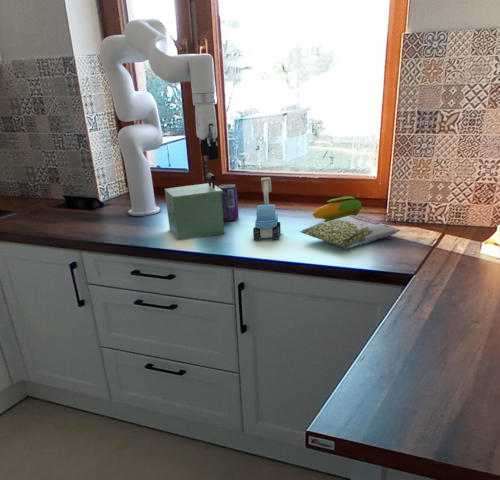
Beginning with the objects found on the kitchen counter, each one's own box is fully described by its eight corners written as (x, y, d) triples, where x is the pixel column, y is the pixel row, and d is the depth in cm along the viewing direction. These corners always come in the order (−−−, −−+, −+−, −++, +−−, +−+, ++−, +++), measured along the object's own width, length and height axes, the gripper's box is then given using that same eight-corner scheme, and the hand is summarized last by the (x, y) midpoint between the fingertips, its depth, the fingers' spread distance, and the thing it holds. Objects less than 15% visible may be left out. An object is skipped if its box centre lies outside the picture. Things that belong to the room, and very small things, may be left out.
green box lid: (211, 185, 206) (210, 170, 203) (222, 192, 194) (221, 177, 191) (164, 191, 202) (162, 175, 199) (173, 199, 190) (171, 183, 187)
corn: (367, 194, 204) (318, 203, 197) (366, 217, 208) (319, 226, 201) (354, 192, 210) (307, 201, 203) (354, 214, 214) (308, 223, 207)
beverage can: (241, 217, 218) (239, 183, 212) (234, 222, 213) (232, 188, 206) (223, 216, 220) (221, 183, 214) (216, 221, 215) (213, 187, 208)
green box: (213, 224, 213) (210, 185, 206) (224, 233, 201) (221, 193, 194) (169, 230, 209) (164, 191, 202) (178, 240, 197) (173, 199, 190)
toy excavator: (282, 227, 203) (280, 175, 194) (279, 241, 189) (277, 186, 180) (257, 228, 204) (255, 176, 195) (253, 242, 190) (250, 187, 181)
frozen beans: (298, 222, 185) (356, 207, 196) (298, 240, 188) (355, 224, 199) (344, 237, 170) (403, 220, 182) (343, 257, 173) (401, 239, 185)
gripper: (186, 99, 191) (192, 155, 200) (199, 101, 177) (205, 162, 186) (208, 97, 193) (213, 152, 202) (223, 99, 179) (228, 159, 188)
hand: (209, 157), depth 194 cm, fingers open, 9 cm apart
